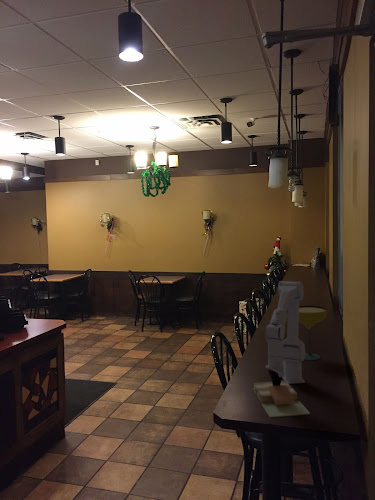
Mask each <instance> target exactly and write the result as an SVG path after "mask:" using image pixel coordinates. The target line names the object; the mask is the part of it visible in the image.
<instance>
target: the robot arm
mask: <svg viewBox="0 0 375 500" xmlns="http://www.w3.org/2000/svg"><path fill="white" fill-rule="evenodd" d="M304 288H305V287H304V284H303V282H302V281H287V280H280V281H279V282H278V284H277V292H278V296H279V298H278V299H279V300H278V302H277V303H278V304H277V308H276V309H274V310H273V313H272V315H271V319H270V321H269V324H268V325H266V326H265V330H264V335H265V336H264V337H265V339H266V341H265V342H266V343H267V357H268V359H267V364H266V365H265V369H267V372H268V374H269V376H270V379H271V382H272V385H273V386H279V385H280V384H281V381H286V382H287V383H288V384H289V385H291V384H303V383H306V381H305V379H304V378H303V372H302V371H303V370H302V369H303V365H302V362H304V361H305V360H304V359H305V353H306V348H305V345H306V344H305V342H304V341H302V340H301V339H300V337H299V326H300V325H299V323H300V322H299V306H300V302H301V301H303V300H304V295H305V294H304ZM286 322H287V324H286ZM285 325H287V330H286V327H285ZM286 331H287V333H285V332H286ZM285 334H287V335H286V338H285ZM284 338H285V339H284ZM282 379H283V380H282Z"/></svg>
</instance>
